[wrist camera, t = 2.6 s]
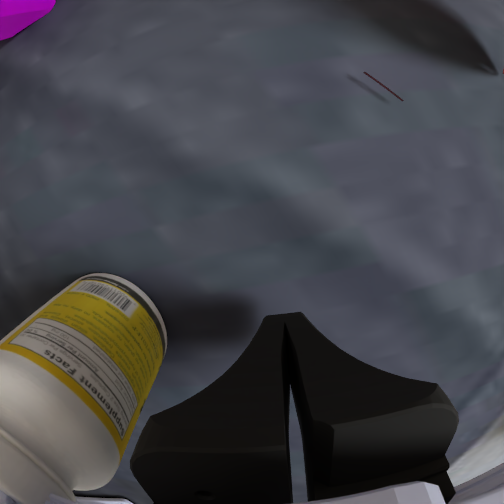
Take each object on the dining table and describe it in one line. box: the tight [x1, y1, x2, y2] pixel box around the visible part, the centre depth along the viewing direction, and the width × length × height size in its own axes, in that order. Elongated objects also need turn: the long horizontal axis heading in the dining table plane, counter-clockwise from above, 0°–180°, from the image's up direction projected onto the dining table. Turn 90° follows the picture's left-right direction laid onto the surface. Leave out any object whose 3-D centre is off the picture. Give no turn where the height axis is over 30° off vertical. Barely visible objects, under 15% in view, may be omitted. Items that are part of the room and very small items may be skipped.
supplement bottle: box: [0, 273, 167, 504], centre depth 8 cm, size 5×5×10 cm
